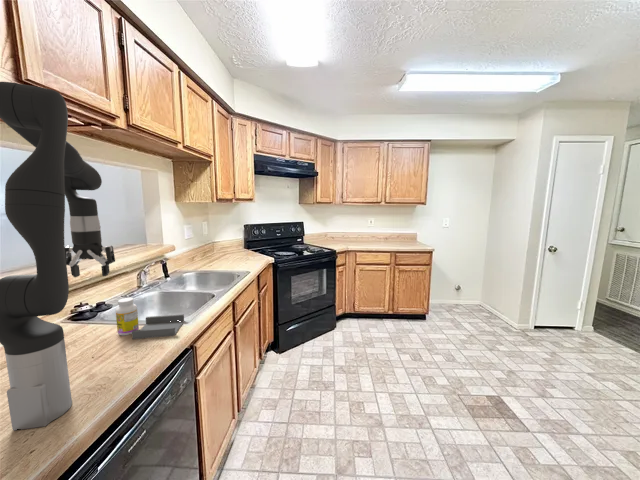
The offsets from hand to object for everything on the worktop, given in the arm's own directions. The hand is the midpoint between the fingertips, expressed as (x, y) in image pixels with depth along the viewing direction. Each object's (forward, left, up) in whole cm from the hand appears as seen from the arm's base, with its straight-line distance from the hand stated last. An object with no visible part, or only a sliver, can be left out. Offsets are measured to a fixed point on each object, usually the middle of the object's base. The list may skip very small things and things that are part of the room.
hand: (91, 276), depth 92 cm
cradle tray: (+6, -18, -24) cm, 31 cm away
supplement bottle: (+6, -7, -24) cm, 26 cm away
